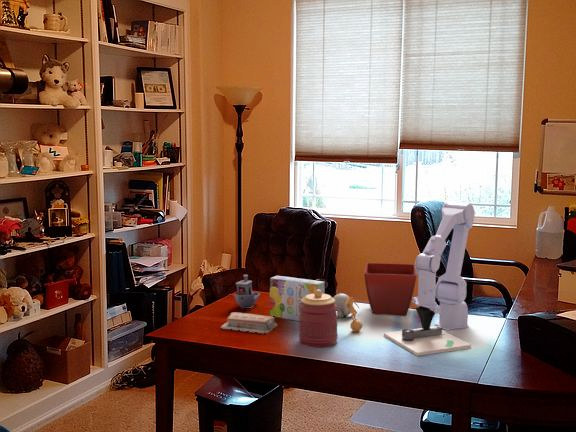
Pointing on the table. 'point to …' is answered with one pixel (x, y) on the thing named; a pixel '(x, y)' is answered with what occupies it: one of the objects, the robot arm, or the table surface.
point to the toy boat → (245, 293)
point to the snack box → (290, 295)
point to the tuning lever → (420, 333)
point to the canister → (318, 320)
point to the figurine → (353, 315)
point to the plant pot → (390, 287)
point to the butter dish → (249, 322)
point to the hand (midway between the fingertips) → (425, 328)
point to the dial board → (428, 343)
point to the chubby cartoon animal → (341, 304)
